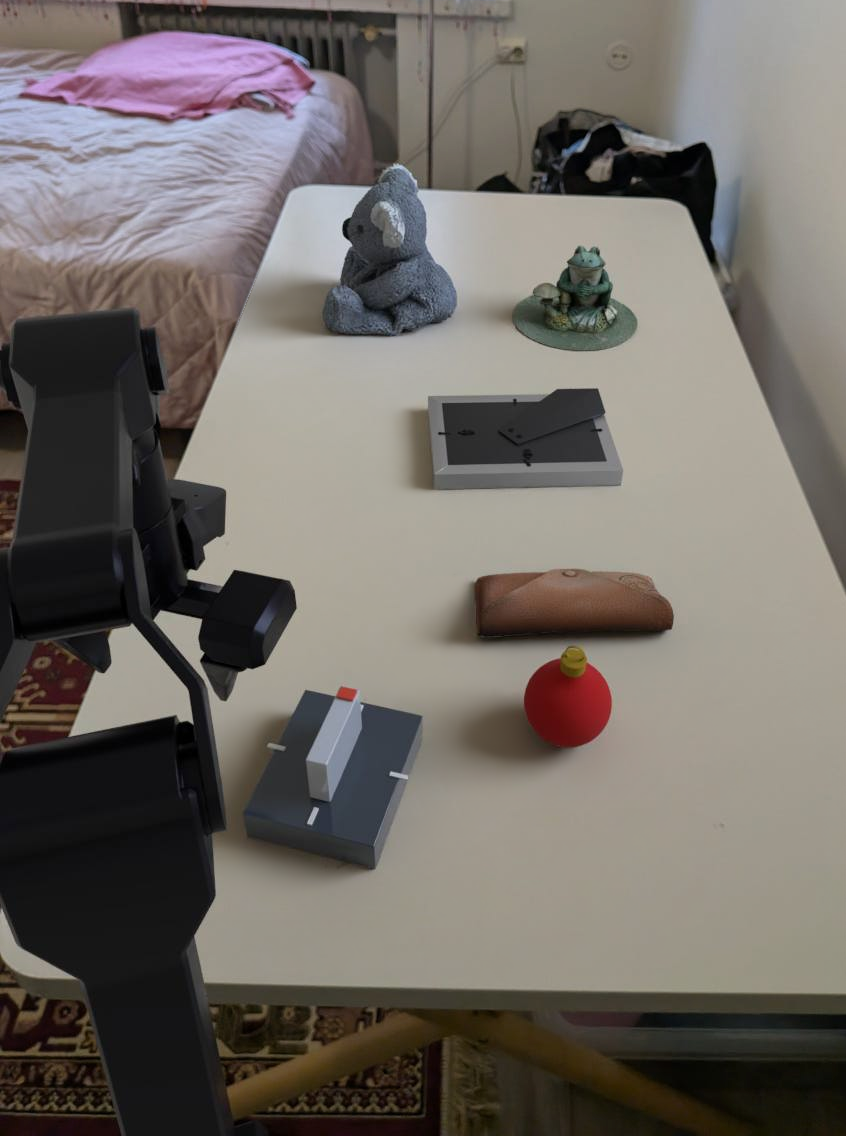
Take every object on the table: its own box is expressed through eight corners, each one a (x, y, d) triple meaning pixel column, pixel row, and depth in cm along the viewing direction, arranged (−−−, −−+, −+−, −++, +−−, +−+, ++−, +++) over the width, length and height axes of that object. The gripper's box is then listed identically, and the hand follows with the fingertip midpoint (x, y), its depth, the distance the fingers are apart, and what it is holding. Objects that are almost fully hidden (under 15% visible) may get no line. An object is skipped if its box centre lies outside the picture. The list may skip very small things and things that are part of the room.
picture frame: (595, 407, 119) (427, 410, 117) (598, 388, 117) (427, 390, 115) (621, 485, 106) (434, 489, 104) (624, 464, 105) (434, 468, 103)
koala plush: (344, 281, 143) (337, 150, 131) (463, 290, 143) (467, 159, 130) (318, 337, 130) (307, 196, 118) (449, 348, 129) (452, 207, 117)
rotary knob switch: (383, 872, 69) (382, 847, 67) (239, 835, 71) (233, 810, 69) (429, 740, 78) (430, 715, 76) (301, 711, 80) (298, 686, 78)
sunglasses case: (651, 570, 94) (669, 550, 88) (660, 641, 92) (679, 625, 86) (470, 577, 93) (474, 556, 87) (474, 648, 90) (479, 633, 84)
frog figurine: (505, 343, 130) (510, 263, 123) (519, 286, 144) (524, 211, 137) (636, 357, 129) (648, 277, 122) (638, 297, 143) (649, 223, 136)
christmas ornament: (615, 711, 81) (631, 629, 75) (593, 777, 76) (608, 694, 70) (536, 686, 83) (545, 604, 77) (509, 749, 78) (516, 665, 72)
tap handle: (330, 802, 70) (326, 762, 67) (309, 797, 70) (304, 757, 67) (362, 728, 75) (360, 688, 72) (343, 723, 75) (340, 683, 72)
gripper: (319, 458, 62) (333, 627, 71) (59, 411, 65) (106, 579, 74) (245, 571, 53) (272, 746, 63) (-51, 511, 56) (19, 687, 66)
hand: (165, 682), depth 67 cm, fingers open, 9 cm apart
